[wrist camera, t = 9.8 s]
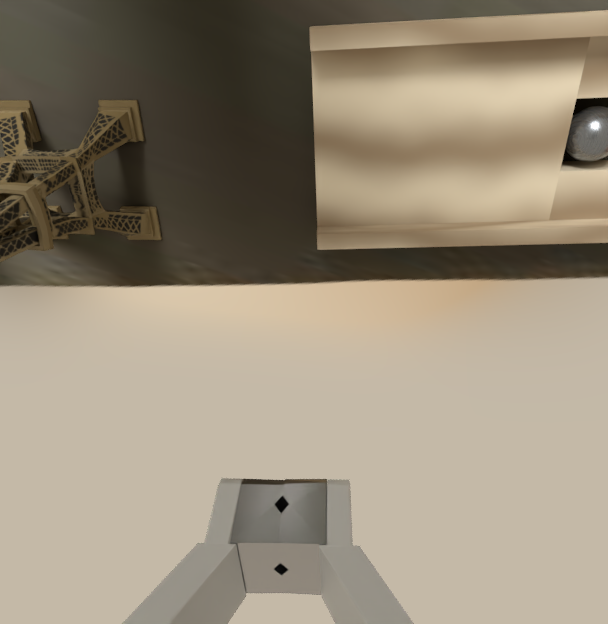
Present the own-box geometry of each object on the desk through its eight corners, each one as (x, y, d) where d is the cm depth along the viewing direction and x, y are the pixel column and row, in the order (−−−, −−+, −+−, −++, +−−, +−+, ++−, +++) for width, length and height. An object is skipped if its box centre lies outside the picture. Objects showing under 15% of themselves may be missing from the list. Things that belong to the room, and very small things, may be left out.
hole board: (311, 26, 31) (308, 27, 27) (716, 4, 30) (788, 2, 25) (318, 229, 39) (316, 258, 34) (644, 220, 37) (690, 249, 32)
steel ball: (589, 100, 34) (555, 108, 32) (641, 104, 31) (606, 112, 30) (579, 152, 35) (547, 161, 34) (627, 159, 33) (594, 170, 31)
